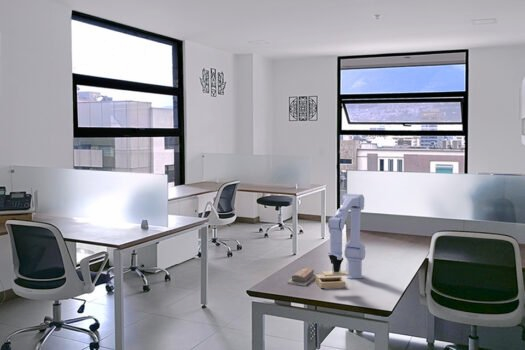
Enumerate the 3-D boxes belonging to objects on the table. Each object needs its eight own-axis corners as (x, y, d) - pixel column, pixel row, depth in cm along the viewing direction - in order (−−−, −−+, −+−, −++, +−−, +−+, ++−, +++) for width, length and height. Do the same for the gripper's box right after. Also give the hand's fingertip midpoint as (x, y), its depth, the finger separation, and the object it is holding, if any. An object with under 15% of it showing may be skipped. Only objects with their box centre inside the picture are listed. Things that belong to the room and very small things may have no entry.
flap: (322, 272, 241) (322, 263, 240) (345, 272, 242) (346, 262, 242) (324, 276, 235) (325, 266, 235) (349, 275, 237) (349, 265, 236)
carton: (315, 281, 255) (315, 274, 255) (338, 280, 256) (338, 273, 256) (320, 288, 243) (320, 281, 243) (345, 287, 245) (345, 280, 244)
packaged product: (299, 265, 268) (317, 268, 264) (299, 274, 268) (317, 277, 264) (286, 274, 251) (305, 277, 247) (286, 284, 252) (305, 286, 248)
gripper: (324, 239, 244) (323, 267, 245) (331, 246, 230) (331, 275, 231) (338, 239, 245) (338, 266, 246) (346, 246, 230) (346, 275, 232)
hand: (335, 270), depth 239 cm, fingers closed on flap, 3 cm apart
